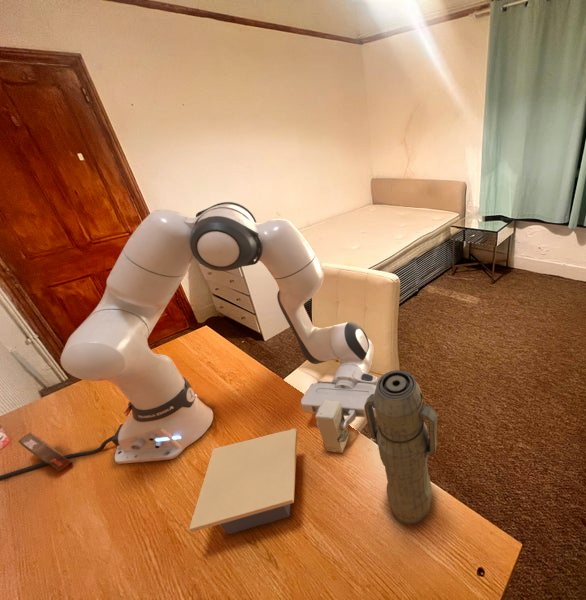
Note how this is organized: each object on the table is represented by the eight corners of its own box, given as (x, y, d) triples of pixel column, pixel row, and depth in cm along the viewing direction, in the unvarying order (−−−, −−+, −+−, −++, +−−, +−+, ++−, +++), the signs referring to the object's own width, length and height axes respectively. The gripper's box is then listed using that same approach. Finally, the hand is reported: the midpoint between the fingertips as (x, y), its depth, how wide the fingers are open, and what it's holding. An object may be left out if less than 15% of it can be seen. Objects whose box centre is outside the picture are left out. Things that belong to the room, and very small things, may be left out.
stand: (209, 551, 60) (188, 529, 55) (228, 471, 73) (213, 448, 68) (304, 522, 63) (292, 499, 58) (305, 451, 76) (296, 427, 71)
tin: (77, 466, 77) (55, 446, 73) (62, 478, 75) (38, 458, 71) (50, 445, 83) (28, 425, 79) (34, 456, 81) (11, 436, 77)
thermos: (437, 530, 60) (433, 411, 41) (378, 519, 62) (349, 402, 44) (440, 483, 67) (438, 364, 49) (388, 475, 69) (367, 359, 51)
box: (342, 453, 75) (332, 419, 68) (325, 451, 76) (314, 417, 69) (349, 434, 79) (340, 400, 72) (333, 432, 80) (323, 398, 73)
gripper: (310, 373, 84) (287, 415, 73) (383, 377, 81) (370, 422, 69) (315, 389, 88) (294, 432, 76) (385, 393, 84) (374, 439, 73)
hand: (331, 427), depth 73 cm, fingers closed on box, 4 cm apart
